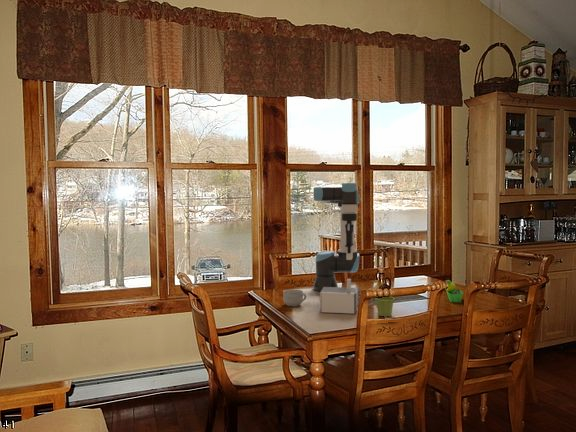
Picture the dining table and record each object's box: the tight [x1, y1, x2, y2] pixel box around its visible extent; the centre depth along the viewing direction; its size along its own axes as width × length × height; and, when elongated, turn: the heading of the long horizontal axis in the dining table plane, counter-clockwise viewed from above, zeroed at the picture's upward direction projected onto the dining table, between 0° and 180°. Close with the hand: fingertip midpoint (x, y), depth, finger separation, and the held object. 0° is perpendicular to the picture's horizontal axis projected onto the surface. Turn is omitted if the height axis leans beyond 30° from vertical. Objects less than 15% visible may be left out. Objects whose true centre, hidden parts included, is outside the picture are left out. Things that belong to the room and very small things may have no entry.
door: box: [319, 278, 355, 315], centre depth 231 cm, size 2×17×17 cm, turn 78°
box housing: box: [320, 286, 359, 315], centre depth 239 cm, size 14×18×10 cm
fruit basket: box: [445, 279, 464, 303], centre depth 255 cm, size 11×9×11 cm
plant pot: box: [374, 296, 395, 318], centre depth 226 cm, size 9×9×9 cm
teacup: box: [282, 289, 307, 307], centre depth 248 cm, size 14×11×8 cm
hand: (349, 258), depth 235 cm, fingers open, 4 cm apart
